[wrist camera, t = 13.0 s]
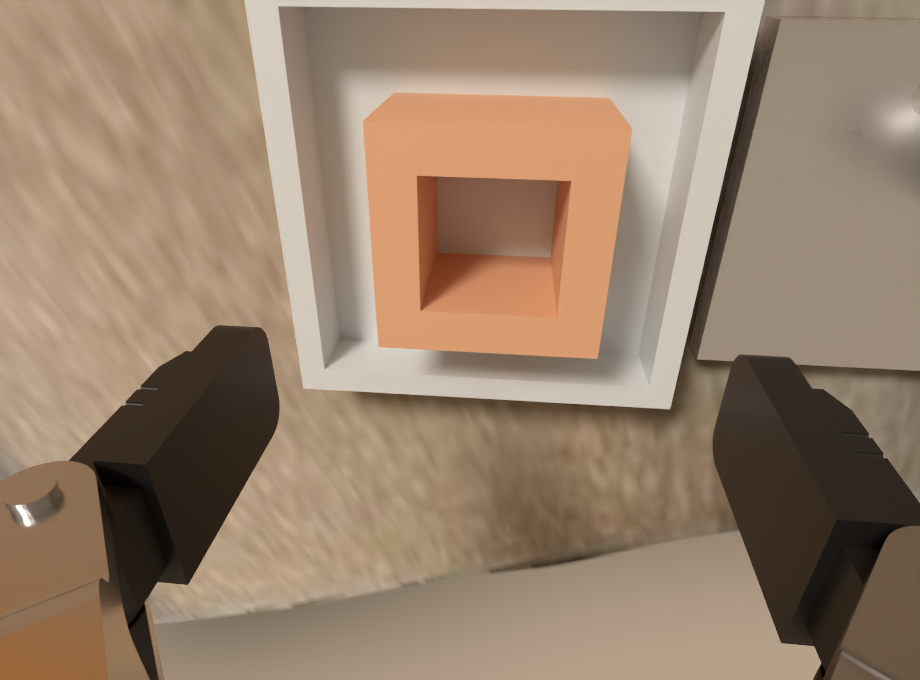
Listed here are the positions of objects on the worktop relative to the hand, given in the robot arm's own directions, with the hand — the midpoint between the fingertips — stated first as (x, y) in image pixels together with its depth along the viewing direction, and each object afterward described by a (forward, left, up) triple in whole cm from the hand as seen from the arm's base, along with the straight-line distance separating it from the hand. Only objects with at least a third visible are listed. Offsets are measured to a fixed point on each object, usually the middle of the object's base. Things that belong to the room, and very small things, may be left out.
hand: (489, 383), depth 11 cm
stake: (-12, 0, -10) cm, 15 cm away
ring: (0, 0, -9) cm, 9 cm away
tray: (0, 0, -10) cm, 10 cm away
